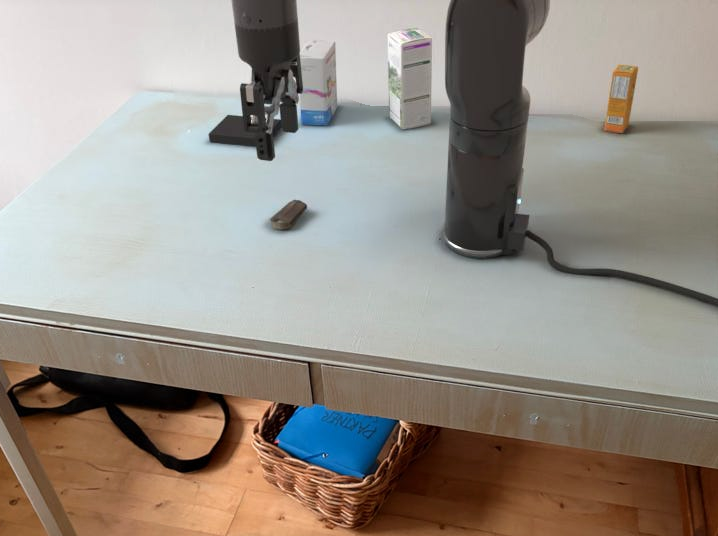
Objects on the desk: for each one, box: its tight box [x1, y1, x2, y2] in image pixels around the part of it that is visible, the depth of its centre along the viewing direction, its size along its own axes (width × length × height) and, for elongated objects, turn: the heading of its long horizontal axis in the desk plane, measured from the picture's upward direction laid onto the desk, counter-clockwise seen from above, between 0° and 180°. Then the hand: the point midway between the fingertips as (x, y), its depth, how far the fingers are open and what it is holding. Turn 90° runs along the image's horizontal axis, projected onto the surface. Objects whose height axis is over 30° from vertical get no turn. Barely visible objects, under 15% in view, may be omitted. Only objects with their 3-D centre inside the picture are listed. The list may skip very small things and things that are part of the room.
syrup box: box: [387, 27, 433, 130], centre depth 125 cm, size 6×6×14 cm
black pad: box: [208, 114, 282, 148], centre depth 127 cm, size 10×8×2 cm
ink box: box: [298, 39, 338, 127], centre depth 129 cm, size 9×5×12 cm, turn 168°
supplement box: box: [603, 64, 639, 134], centre depth 121 cm, size 3×3×10 cm
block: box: [268, 199, 308, 230], centre depth 105 cm, size 4×6×2 cm, turn 154°
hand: (278, 144), depth 99 cm, fingers open, 8 cm apart
